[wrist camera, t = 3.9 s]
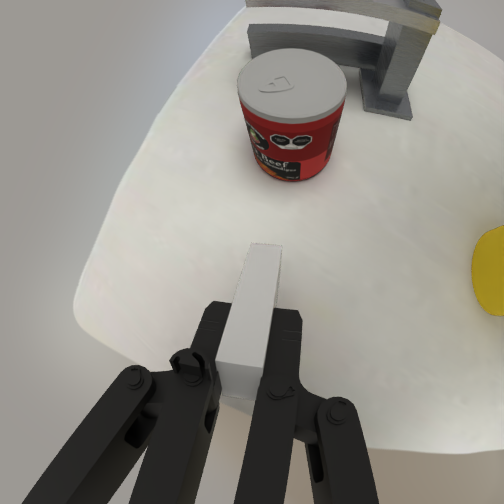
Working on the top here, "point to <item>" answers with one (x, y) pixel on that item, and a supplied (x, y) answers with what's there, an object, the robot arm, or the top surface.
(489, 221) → the top surface
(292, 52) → the canned food
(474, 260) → the yellow toilet paper roll
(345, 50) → the bracket
